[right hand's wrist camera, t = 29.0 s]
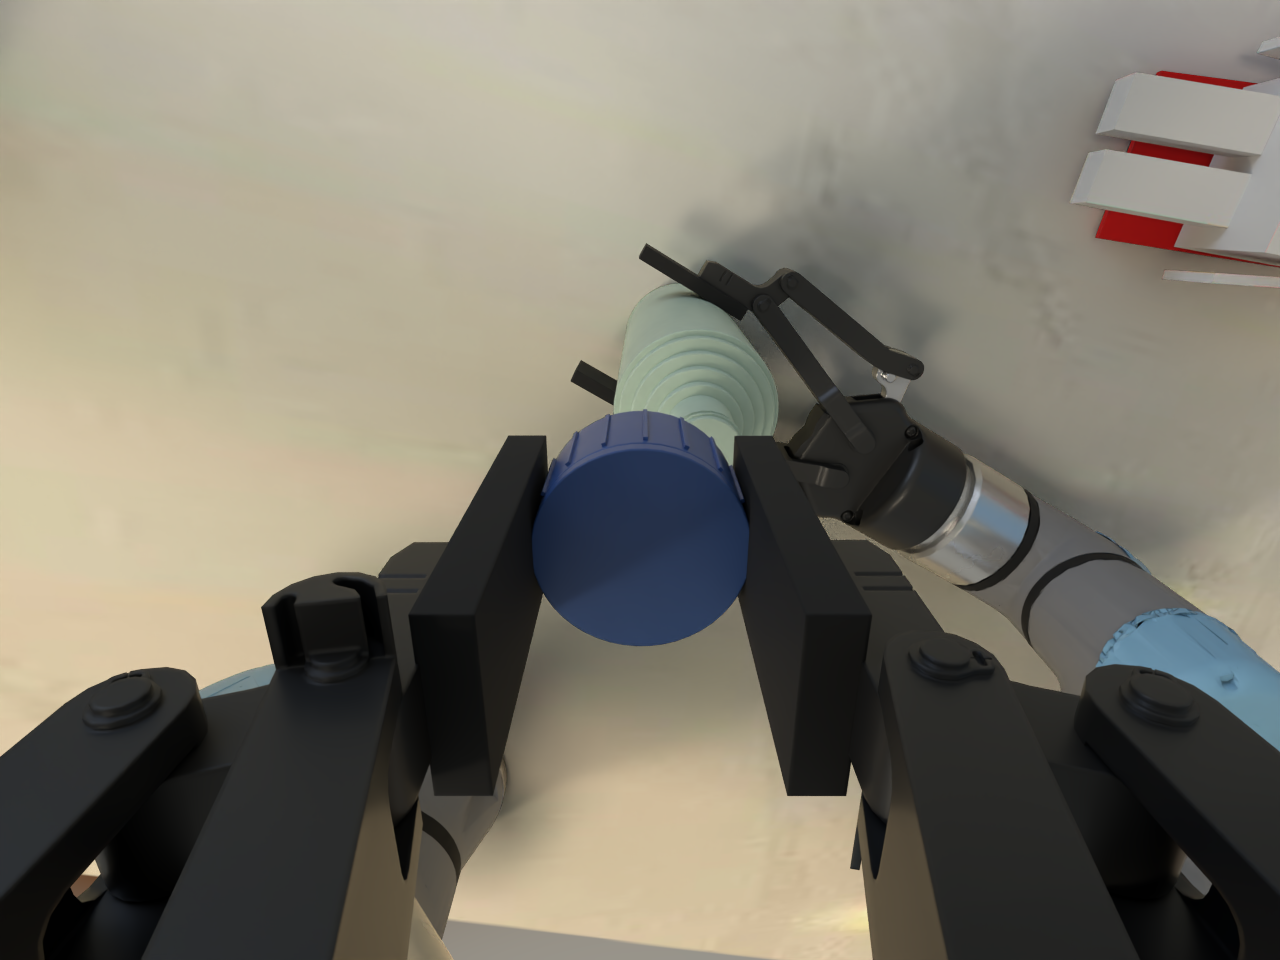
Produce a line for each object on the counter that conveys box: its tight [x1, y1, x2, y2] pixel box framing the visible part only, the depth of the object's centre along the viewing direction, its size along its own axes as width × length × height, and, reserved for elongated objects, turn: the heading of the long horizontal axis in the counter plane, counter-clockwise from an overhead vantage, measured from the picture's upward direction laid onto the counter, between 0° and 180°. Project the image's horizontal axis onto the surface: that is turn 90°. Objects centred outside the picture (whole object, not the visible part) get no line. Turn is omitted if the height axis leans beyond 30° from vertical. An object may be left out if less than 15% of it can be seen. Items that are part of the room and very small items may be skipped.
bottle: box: [613, 283, 778, 466], centre depth 35 cm, size 7×7×23 cm
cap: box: [532, 409, 749, 646], centre depth 13 cm, size 4×4×2 cm
